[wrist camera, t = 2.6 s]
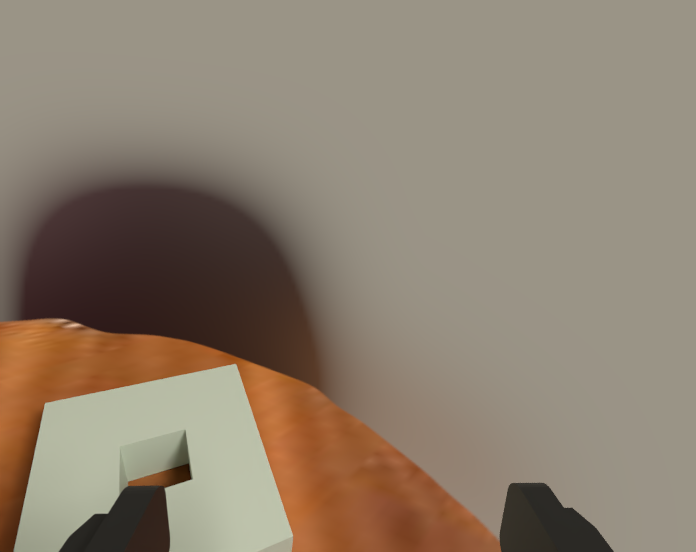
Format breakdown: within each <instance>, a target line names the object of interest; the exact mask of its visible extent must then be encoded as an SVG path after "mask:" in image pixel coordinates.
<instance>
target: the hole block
mask: <svg viewBox="0 0 696 552" xmlns="http://www.w3.org/2000/svg"><path fill="white" fill-rule="evenodd" d="M188 463H189V468H190V474H191V480H189V481H186V482H183V483H180V484H176V485H173V486H170V487H167V488H165V492H166V501H167V511H168V521H169V530H170V549H169V552H291V551H292V542H293V535H292V532H291V528H290V525H289V522H288V519H287V516H286V513H285V510H284V507H283V504H282V501H281V498H280V495H279V492H278V489H277V486H276V483H275V480H274V477H273V474H272V471H271V468H270V465H269V462H268V459H267V456H266V453H265V450H264V447H263V444H262V441H261V438H260V435H259V432H258V429H257V426H256V423H255V420H254V417H253V414H252V411H251V408H250V405H249V402H248V399H247V396H246V393H245V390H244V387H243V384H242V381H241V377H240V374H239V371H238V368H237V365H236V364H233V365H229V366H224V367H219V368H214V369H209V370H204V371H199V372H195V373H190V374H185V375H180V376H175V377H170V378H165V379H161V380H156V381H151V382H146V383H141V384H136V385H131V386H127V387H122V388H117V389H112V390H107V391H102V392H97V393H93V394H88V395H83V396H78V397H73V398H68V399H63V400H59V401H54V402H49V403H45V406H44V411H43V416H42V421H41V425H40V430H39V435H38V439H37V444H36V449H35V453H34V458H33V463H32V467H31V472H30V477H29V482H28V486H27V491H26V496H25V500H24V505H23V510H22V514H21V519H20V524H19V528H18V533H17V538H16V542H15V547H14V552H59V550H60V549H61V548H62V546H63V545H64V543H65V542H66V540H67V539H68V537H69V536H70V535H71V534H72V533H74V532H75V531H76V530H77V529H78V528H79V527H80V526H81V525H83V524H84V523H85V522H86V521H87V520H88V519H89V518H91V517H92V516H93V515H94V514H108V513H109V511H110V509H111V508H112V506H113V505H114V503H115V501H116V500H117V498H118V497H119V495H120V493H121V492H122V491H123V489H124V488H126V487H127V486H128V481H132V480H135V479H138V478H142V477H145V476H148V475H152V474H155V473H158V472H162V471H165V470H168V469H172V468H175V467H178V466H182V465H185V464H188Z"/></svg>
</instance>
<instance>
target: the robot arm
mask: <svg viewBox="0 0 696 552" xmlns="http://www.w3.org/2000/svg"><path fill="white" fill-rule="evenodd" d="M500 546H501V551H502V552H613V550H612V549H611V548H610V546H609V545H608V543H607V542H606V541H605V539H604V538H603V537H602V535H601V534H600V533H599V531H598V530H597V529H596V528H595V527H594V526H593V525H592V524H591V523H590V522H588V521H587V520H586V519H585V518H584V517H582V516H581V515H580V514H579V513H577V512H576V511H575V510H574V509H573V508H564V507H563V506H562V505H561V503H560V502H559V501H558V499H557V498H556V496H555V495H554V493H553V492H552V491H551V489H550V488H549V487H548V486H547V485H546V484H544V483H512V484H510V485H509V488H508V492H507V497H506V502H505V508H504V513H503V519H502V524H501V530H500ZM169 549H170V530H169V521H168V511H167V501H166V492H165V488H164V487H163V486H127V487H126V488H124V489H123V491H122V492H121V493H120V495H119V497H118V498H117V500H116V501H115V503H114V505H113V506H112V508H111V509H110V511H109V513H108V514H94V515H93V516H92V517H91V518H89V519H88V520H87V521H86V522H85V523H84V524H83V525H81V526H80V527H79V528H78V529H77V530H76V531H75V532H74V533H72V534H71V535H70V536H69V537H68V539H67V540H66V542H65V543H64V545H63V546H62V548H61V549H60V550H59V552H169Z"/></svg>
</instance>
